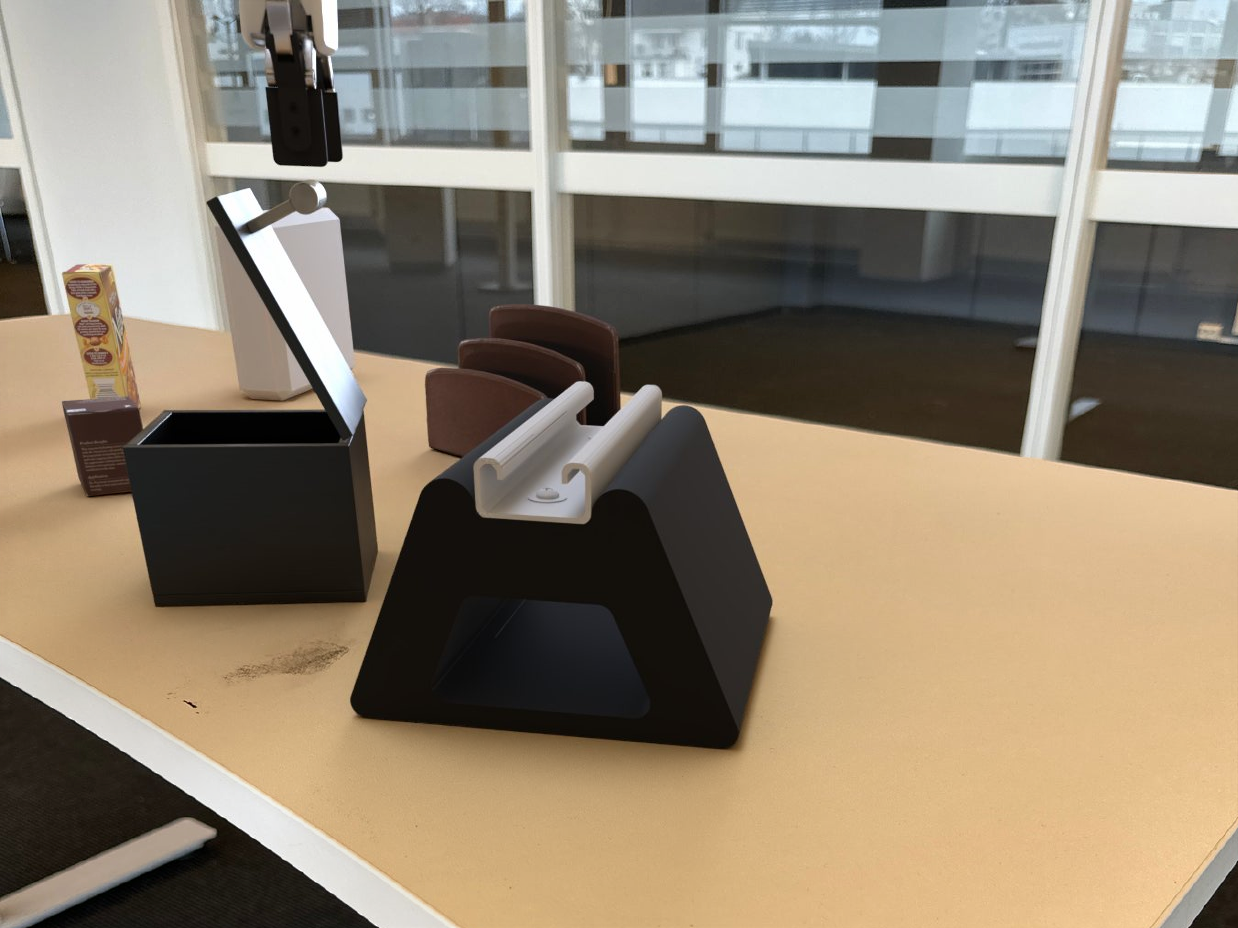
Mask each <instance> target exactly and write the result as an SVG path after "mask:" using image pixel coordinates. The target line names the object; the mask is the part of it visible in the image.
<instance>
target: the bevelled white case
mask: <svg viewBox="0 0 1238 928" xmlns="http://www.w3.org/2000/svg"><path fill="white" fill-rule="evenodd" d="M269 210H270V209H265V210H263V209H262V211H263V213H265V212H267V211H269ZM271 227H272V229H273V231H274V233H275V234H276V236H277V238H278V240H279V242H280V243H281V245H282V247H283V249H284V251H285V252H286V254H287V256H288V258H289V260H290V261H291V263H292V265H293V267H294V269H295V270H296V272H297V274H298V276H299V278H300V280H301V281H302V283H303V285H304V287H305V289H306V290H307V292H308V294H309V296H310V298H311V299H312V301H313V303H314V305H315V307H316V308H317V310H318V312H319V314H320V316H321V317H322V319H323V321H324V323H325V325H326V326H327V328H328V330H329V332H330V334H331V336H332V337H333V339H334V341H335V343H336V345H337V346H338V348H339V350H340V352H341V354H342V355H343V357H344V359H345V361H346V363H347V364H348V366H349V368H350V370H351V371H353V369H354V368H355V367H356V362H355V360H356V359H355V352H354V344H353V343H354V342H353V333H352V324H351V323H352V322H351V315H350V304H349V295H348V285H347V276H346V267H345V258H344V248H343V240H342V230H341V229H342V228H341V220H340V218H339V216H337V215H336V214H335V212H333V211H332V210H331V208H329V207H322V208H321V209H319V210H317V211H315V212H313V213H312V214H309V215H303V214H300V213H298V212H297V211H295V212H293V213H291V214H290V215H288V216H286V217H284V218H282V219H280V220H278V221H277V222H275V223H273V224H271ZM214 230H215V237H216V244H217V250H218V251H217V252H218V256H219V263H220V270H221V276H222V283H223V284H222V285H223V289H224V294H225V303H226V310H227V317H228V321H229V328H230V333H231V334H230V335H231V342H232V348H233V349H232V350H233V354H234V355H233V356H234V362H235V368H236V373H237V375H236V376H237V382H238V388H239V389H240V390H241V391H242V392H243V393H244V394H245V395H247V397H249V398H250V399H251V400H264V401H282V402H283V401H286V400H288V399H291V398H293V397H296V396H299V395H301V394H303V393H306V392H309V391H312V390H313V388H312V386H311V385H310V383H309V381H308V379H307V378H306V376H305V374H304V372H303V371H302V369H301V367H300V365H299V364H298V362H297V360H296V358H295V357H294V355H293V353H292V351H291V350H290V348H289V346H288V345H287V343H286V341H285V339H284V338H283V336H282V334H281V332H280V331H279V329H278V327H277V325H276V324H275V322H274V320H273V318H272V317H271V315H270V313H269V311H268V310H267V308H266V306H265V305H264V303H263V301H262V299H261V298H260V296H259V294H258V292H257V291H256V289H255V287H254V285H253V284H252V282H251V280H250V278H249V277H248V275H247V273H246V271H245V270H244V268H243V266H242V265H241V263H240V261H239V259H238V258H237V256H236V254H235V252H234V251H233V249H232V247H231V245H230V244H229V242H228V240H227V238H226V237H225V235H224V233H223V231H222V230H221V228H220V226H219V225H218V223H217V222H216V224H215V225H214Z"/></svg>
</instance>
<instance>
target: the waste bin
mask: <svg viewBox="0 0 1238 928" xmlns="http://www.w3.org/2000/svg"><path fill="white" fill-rule="evenodd" d="M364 411H365V410H364V409H363V412H362V414H361V417H360V419H359V421H358V424H357V426H356V429H355V431H354V434H353V436H352V437H350V438H348V439H346V440H342V438H341V437H340V435H339V433H338V432H337V430H336V428H335V426H334V425H333V423H332V421H331V419H330V418H329V416H328V414H327V412H326V411H325V409H324V408H323V409H164V410H163V411H161V412H160V413H159V414H158V415H157V416H156V417H155V418H154V419H153V420H151V421H150V422H149V423H148V424H147V425H146V426H145V427H143V430H142V431H141V432H140V433H139V434H138V435H136V436H135V437H134V438H133V439H132V440H131V441H130V442H129V443H128V444H126V445H125V446H124V447H123V453H124V457H125V462H126V467H127V472H128V477H129V482H130V487H131V491H130V492H131V497H132V502H133V506H134V511H135V515H136V519H137V520H136V521H137V525H138V530H139V535H140V541H141V546H142V551H143V556H144V559H145V565H146V569H147V575H148V579H149V585H150V589H151V594H152V600H153V603H154V606H155V607H178V606H179V607H180V606H181V607H182V606H185V607H187V606H188V607H189V606H225V605H226V606H227V605H230V606H231V605H269V604H272V605H273V604H276V605H277V604H312V603H313V604H316V603H317V604H318V603H321V604H322V603H359V602H360V603H361V602H364V603H365V602H367V598H368V594H369V590H370V586H371V582H372V579H373V578H372V576H373V573H374V569H375V566H376V561H377V556H378V552H379V546H378V545H379V544H378V537H377V526H376V518H375V508H374V507H375V506H374V499H373V497H374V496H373V489H372V488H373V487H372V478H371V470H370V468H371V467H370V458H369V449H368V439H367V430H366V419H365V412H364Z"/></svg>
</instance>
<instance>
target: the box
mask: <svg viewBox="0 0 1238 928" xmlns="http://www.w3.org/2000/svg"><path fill="white" fill-rule="evenodd" d="M61 406H62V410H63V416H64V419H65V423H66V429H67V432H68V437H69V441H70V445H71V449H72V453H73V458H74V464H75V469H76V473H77V476H78V480H79V482H80V484H81V486H82V488H83V491H84V492H85V495H86V496H87V497H93V496H100V495H107V494H108V495H110V494H119V493H120V494H121V493H127V492H131V487H130V482H129V477H128V472H127V467H126V462H125V457H124V453H123V447H124V446H125V445H126V444H128V443H129V442H130V441H131V440H132V439H133V438H134V437H135V436H136V435H138V434H139V433H140V432H141V431H142V430H143V429H144V426H143V421H142V417H141V412H140V408H138V407H137V406H136V405H135V403H134V402H133V401H132V399H131V398H130V397H129V396H128V397H117V398H102V399H90V398H88V399H73V400H72V399H71V400H62V401H61Z"/></svg>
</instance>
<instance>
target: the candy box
mask: <svg viewBox="0 0 1238 928" xmlns="http://www.w3.org/2000/svg"><path fill="white" fill-rule="evenodd" d="M61 276H62V280H63V285H64V291H65V294H66V298H67V302H68V303H67V304H68V307H69V312H70V317H71V321H72V325H73V330H74V334H75V338H76V342H77V346H78V351H79V355H80V359H81V363H82V364H81V365H82V368H83V373H84V378H85V382H86V387H87V390H88V394H89V399H102V398H117V397H128V396H129V397H130V398H131V399H132V401H133V402H134V403H135V405H136V406H137V407H138V408H139V409H141V408H142V403H141V398H140V393H139V389H138V384H137V378H136V374H135V370H134V364H133V359H132V354H131V350H130V346H129V341H128V336H127V331H126V326H125V320H124V316H123V310H122V306H121V301H120V296H119V291H118V286H117V283H116V277H115V272H114V266H113V264H111V263H107V264H106V263H105V264H104V263H98V264H97V263H94V264H93V263H88V264H87V263H85V264H84V263H83V264H82V263H81V264H75V265H74V266H72V267H71V268H69V269H67V270H65V271H62V272H61Z"/></svg>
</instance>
